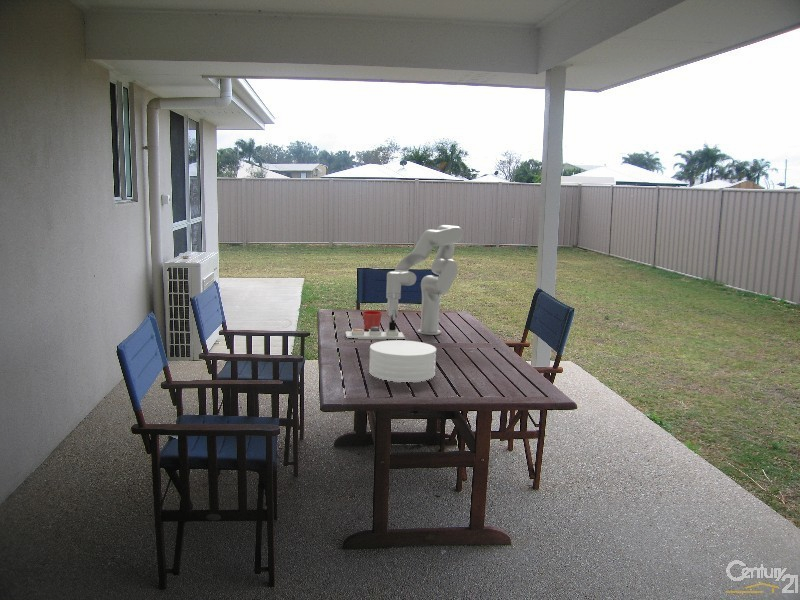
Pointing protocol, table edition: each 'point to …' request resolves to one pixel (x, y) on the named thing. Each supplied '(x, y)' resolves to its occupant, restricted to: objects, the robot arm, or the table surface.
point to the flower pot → (371, 319)
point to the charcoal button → (374, 328)
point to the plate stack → (402, 361)
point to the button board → (374, 334)
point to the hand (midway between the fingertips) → (392, 329)
